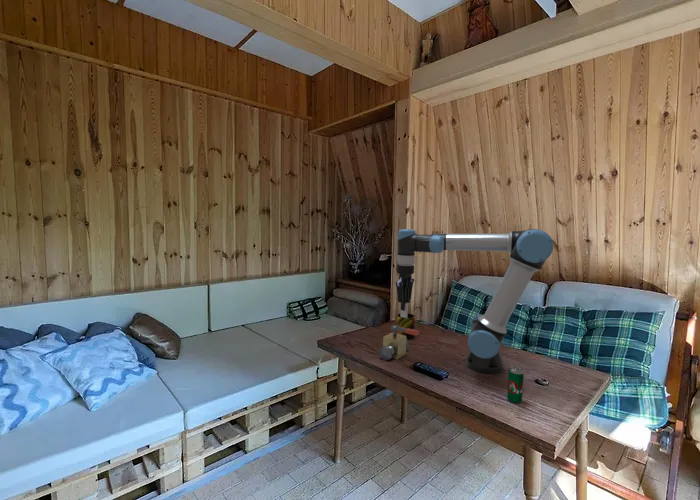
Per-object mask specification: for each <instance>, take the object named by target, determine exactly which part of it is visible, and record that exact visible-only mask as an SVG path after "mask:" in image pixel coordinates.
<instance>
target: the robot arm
mask: <svg viewBox="0 0 700 500" xmlns="http://www.w3.org/2000/svg"><path fill="white" fill-rule="evenodd" d="M397 233H398V234H397V257H396V259H397V260H396V262H397V263H396V264H397V265H396V273H397V274H398V275H399V276H398V280H397V281H395V286H396V293H397V295H396V296H397V302H398V303H400V314H401V315H400V317H404V318H407V315H408V314H409V311H408V310H409V309H408V308H409V305H408V304H409V303H411V299H412V295H413V294H412V292H413V288H414V285H413V284H414V282H415V279H414V278H412V275H413V274H414V273H415V259H416V258H415V257H416V256H415V255H416V253H418V252H419V253H431V254H441V253H443V251H461V252H462V251H468V252H505V253H509V256H508V257H509V261H510V264H509V266H508V268H507V270H506V272H505V274H504V276H503V277H502V280H501V282H500V283H499V285H498V287H497V289H496V291H495V293H494V294H493V297H492V299H491V301H490V302H489V305H488V307H487V309H486V311H485V313H484V314H479V313H478V314H474V315H473V316H472V320H471V321H472V327H471V329H470V332H469V335H468V337H467V347H468V348H469V353H468V356H467V358H466V366H467V367H468V368H469V369H471V370H473V371H475V372H478V373H482V374H489V375H490V374H491V375H495V374H499V373H502V372H503V370H504V361H503V359H502V356H501V353H500V352H501V351H500V348H501V344H502V343H503V341H504V338H505V336H506V335H507V328H506V325H507V323H508V322H509V320H510V317H511V316H512V314H513V313H514V310H515V309H516V307H517V304H518V303H519V301H520V300H521V297H522V296H523V294H524V292H525V291H526V288H527V286H528V285H529V283H530V280H531V279H532V277H533V275H534V274H535V273H536V272H540V271H541V270H542V268H543V266H544V264H545V262H546V260H547V259H549V258H550V257H551V256H552V253H553V251H554V241H553V239H552V237H551V235H550V234H548V233H547V232H546V231H544V230H541V229H538V228H537V229H536V228H529V229H523V230H510V231H509V232H508V233H440V232H439V233H437V232H436V233H431V234H419V233H416V230H415V229H410V228H409V229H406V228H405V229H404V228H403V229H401V228H400V229H399V230H398V232H397ZM415 252H416V253H415Z"/></svg>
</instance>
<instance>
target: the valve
mask: <svg viewBox="0 0 700 500" xmlns="http://www.w3.org/2000/svg"><path fill="white" fill-rule="evenodd" d="M409 347H410V342H409V340H407V339H406V336H404V335H400V334H397V336H393V332H390V333H388V334H386V335H384V336H383V337H382V346H381V347H379V352H378V353H379V356H380V358H381V359H382V360H384V361H389V360H391V359H395V360H399V359H400V358H402V357H403V356H405V355H406V354H407V349H408V348H409Z"/></svg>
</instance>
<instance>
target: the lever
mask: <svg viewBox="0 0 700 500" xmlns="http://www.w3.org/2000/svg"><path fill="white" fill-rule="evenodd" d="M390 328H391V331H392V333H393V336H397V330H398V331H402V332H405V333H408V334H412V335H414V336H415V337H417V336H418V335H420V330H417V329H415V330H413V329H409V328H402V327H399V326H398V325H397V324H392V325H391V327H390Z"/></svg>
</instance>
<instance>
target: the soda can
mask: <svg viewBox="0 0 700 500" xmlns="http://www.w3.org/2000/svg"><path fill="white" fill-rule="evenodd" d="M507 373H508V374H507V387H506V388H507V389H506V391H507V392H506V399H507V400H508V401H509V402H510V403H514V404H520V403H522V402H523V393H524V381H525V380H524V379H525V377H524V376H525V372H524V369H523V368H522V367H519V366H516V365H511V366H509V368H508V370H507Z"/></svg>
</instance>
